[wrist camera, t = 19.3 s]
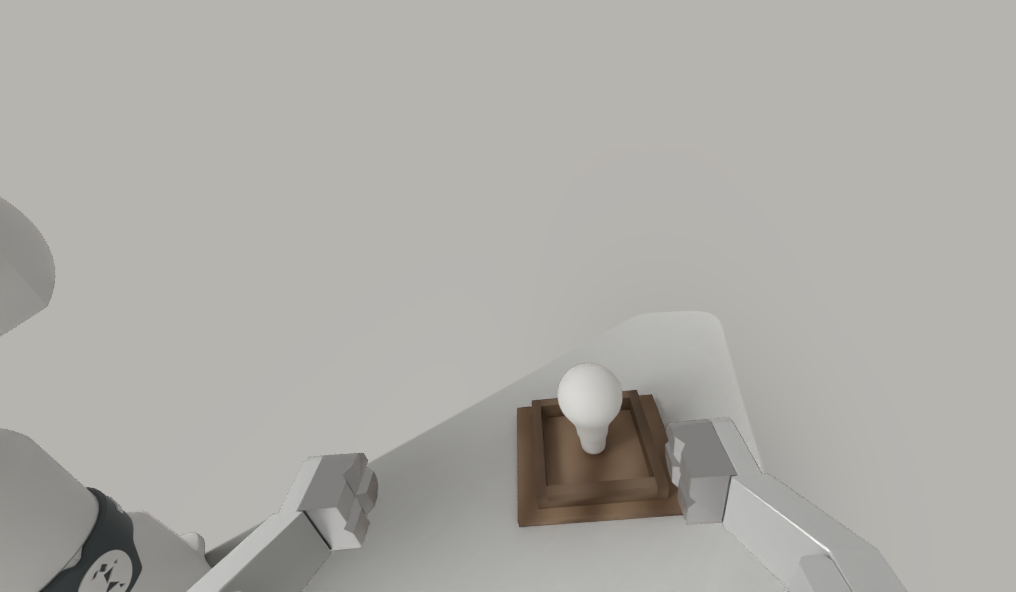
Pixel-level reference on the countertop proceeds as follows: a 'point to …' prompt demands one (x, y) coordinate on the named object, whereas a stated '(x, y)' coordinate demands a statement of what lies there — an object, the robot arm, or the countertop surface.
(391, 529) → the countertop surface
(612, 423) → the brown rimmed tray
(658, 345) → the countertop surface
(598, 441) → the lightbulb
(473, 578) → the countertop surface
